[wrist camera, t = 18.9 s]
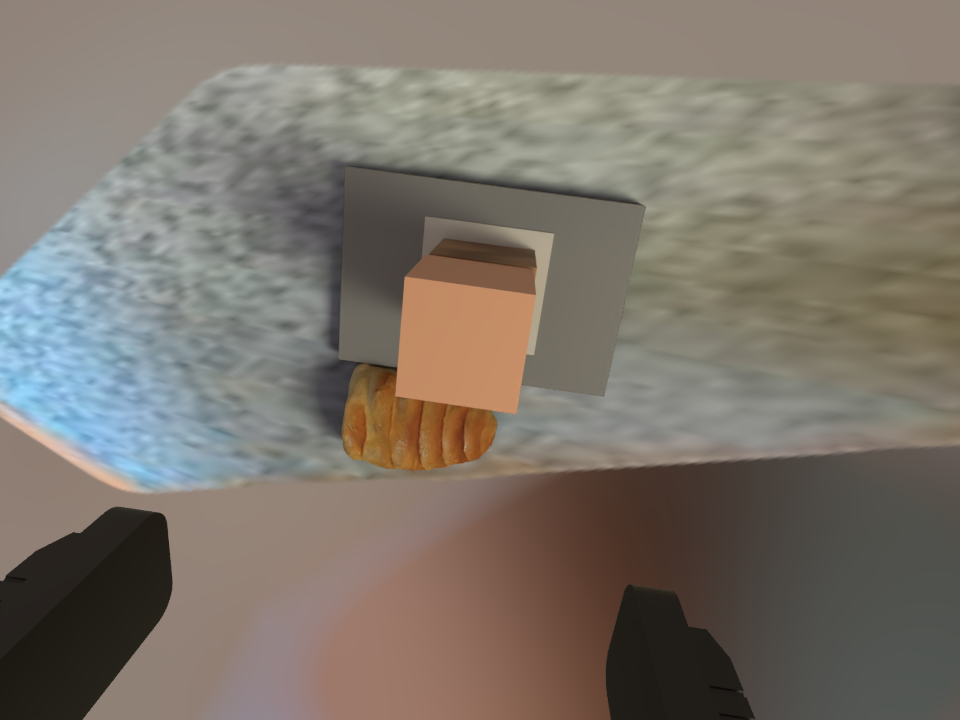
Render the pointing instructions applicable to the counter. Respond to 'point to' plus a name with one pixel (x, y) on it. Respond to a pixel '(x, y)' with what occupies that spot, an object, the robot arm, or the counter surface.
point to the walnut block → (486, 253)
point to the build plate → (497, 221)
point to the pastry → (409, 425)
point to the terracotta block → (465, 333)
